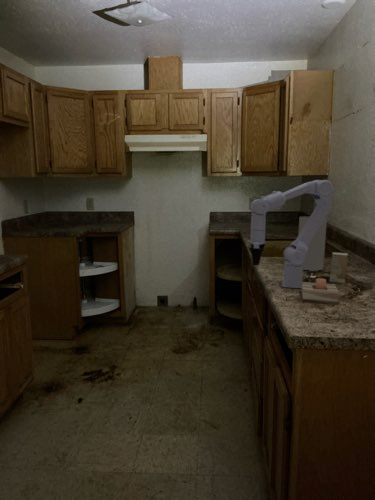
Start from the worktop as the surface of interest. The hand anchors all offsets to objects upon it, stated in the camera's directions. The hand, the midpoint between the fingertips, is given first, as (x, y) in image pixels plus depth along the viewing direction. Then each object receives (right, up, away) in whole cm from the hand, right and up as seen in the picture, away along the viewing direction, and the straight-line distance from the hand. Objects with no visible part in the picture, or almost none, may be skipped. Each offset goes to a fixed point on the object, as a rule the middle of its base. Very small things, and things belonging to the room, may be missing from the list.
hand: (256, 263), depth 154 cm
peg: (+21, -11, -14) cm, 28 cm away
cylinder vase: (+32, -4, +33) cm, 46 cm away
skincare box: (+37, -8, +9) cm, 39 cm away
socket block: (+20, -12, -14) cm, 28 cm away
